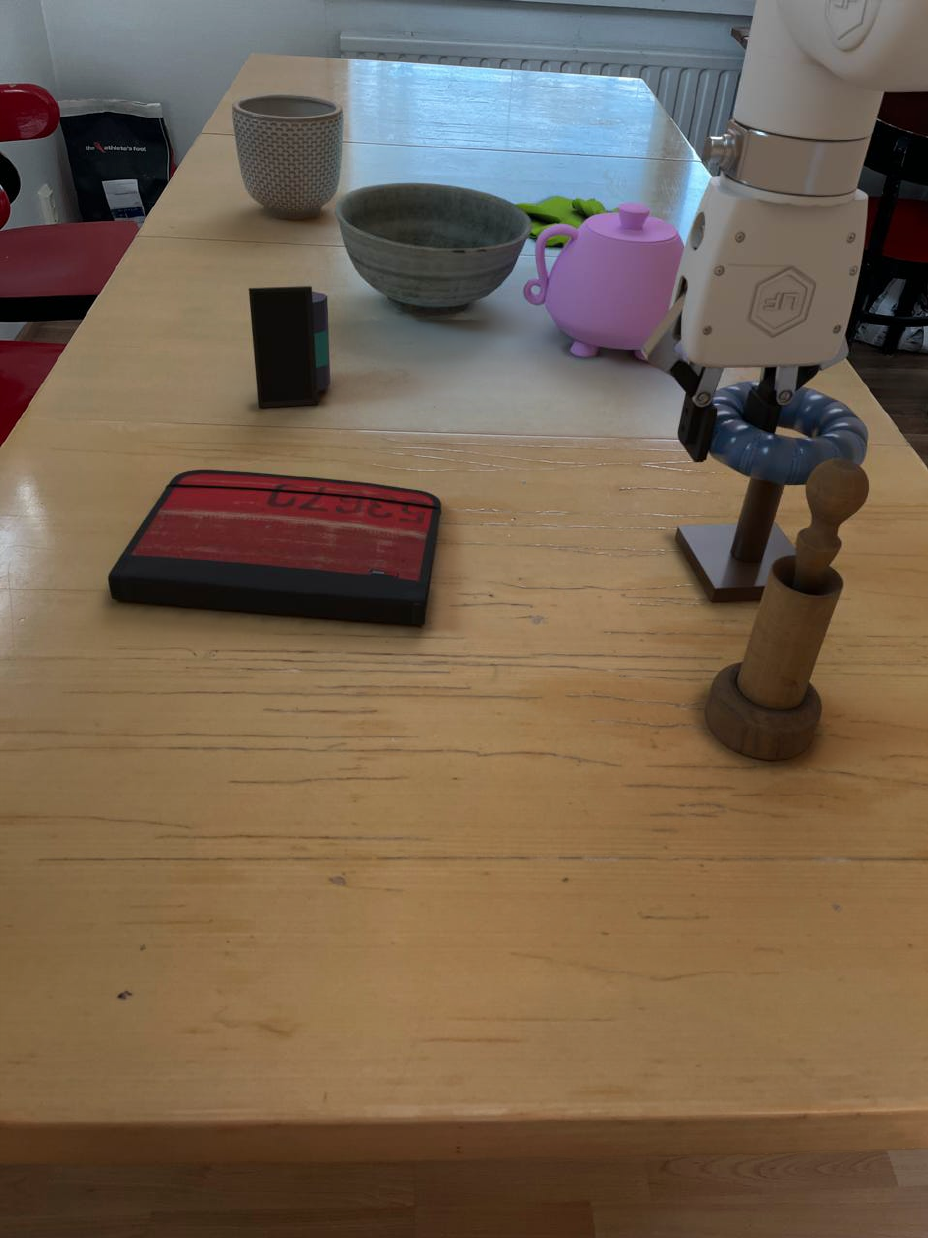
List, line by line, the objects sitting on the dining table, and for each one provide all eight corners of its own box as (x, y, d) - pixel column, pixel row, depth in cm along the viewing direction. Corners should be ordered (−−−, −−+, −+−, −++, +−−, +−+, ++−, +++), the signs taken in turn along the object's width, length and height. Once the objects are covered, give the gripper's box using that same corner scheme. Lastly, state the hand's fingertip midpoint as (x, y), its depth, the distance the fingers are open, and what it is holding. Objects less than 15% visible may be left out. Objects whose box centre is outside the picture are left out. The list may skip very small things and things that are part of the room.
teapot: (712, 319, 113) (740, 191, 104) (739, 379, 100) (774, 239, 92) (517, 306, 112) (530, 176, 103) (520, 364, 100) (535, 223, 91)
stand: (816, 596, 72) (859, 472, 66) (711, 602, 71) (745, 476, 64) (771, 534, 78) (807, 415, 72) (674, 538, 77) (702, 418, 70)
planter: (255, 232, 126) (247, 120, 118) (227, 200, 136) (219, 94, 128) (359, 224, 131) (359, 116, 123) (325, 193, 141) (323, 91, 133)
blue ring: (890, 490, 65) (905, 449, 63) (727, 496, 63) (738, 454, 61) (815, 411, 73) (827, 372, 71) (670, 414, 72) (678, 375, 70)
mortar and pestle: (745, 672, 65) (824, 421, 54) (833, 727, 61) (938, 470, 50) (682, 717, 61) (753, 457, 50) (772, 779, 57) (870, 514, 46)
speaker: (320, 412, 89) (313, 293, 83) (257, 408, 89) (245, 290, 84) (338, 383, 95) (333, 271, 90) (279, 380, 96) (270, 268, 90)
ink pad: (426, 600, 65) (104, 574, 65) (424, 629, 66) (109, 603, 66) (444, 483, 78) (175, 461, 78) (442, 509, 79) (179, 488, 79)
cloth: (541, 253, 126) (544, 234, 125) (473, 202, 142) (474, 184, 140) (678, 242, 133) (682, 223, 132) (599, 194, 149) (601, 177, 147)
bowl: (397, 257, 122) (399, 170, 116) (553, 295, 115) (564, 205, 109) (298, 309, 108) (294, 213, 101) (469, 357, 101) (476, 257, 94)
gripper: (674, 177, 52) (619, 484, 63) (962, 181, 55) (860, 475, 66) (631, 140, 58) (588, 428, 69) (893, 146, 60) (810, 422, 72)
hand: (722, 449), depth 67 cm, fingers closed on blue ring, 3 cm apart
